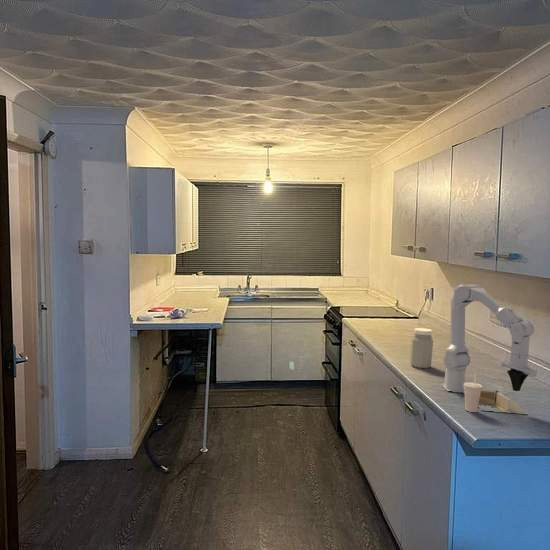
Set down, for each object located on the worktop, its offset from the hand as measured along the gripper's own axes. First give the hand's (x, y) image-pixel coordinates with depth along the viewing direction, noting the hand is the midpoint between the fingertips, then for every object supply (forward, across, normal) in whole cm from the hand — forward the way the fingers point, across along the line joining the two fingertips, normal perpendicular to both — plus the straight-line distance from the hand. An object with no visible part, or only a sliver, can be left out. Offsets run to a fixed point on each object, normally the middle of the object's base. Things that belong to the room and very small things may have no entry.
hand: (516, 390), depth 182 cm
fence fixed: (+7, +9, +5) cm, 13 cm away
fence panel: (+7, +3, +3) cm, 8 cm away
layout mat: (+8, +6, +3) cm, 10 cm away
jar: (+8, +59, -1) cm, 60 cm away
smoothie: (+8, +3, +17) cm, 19 cm away
